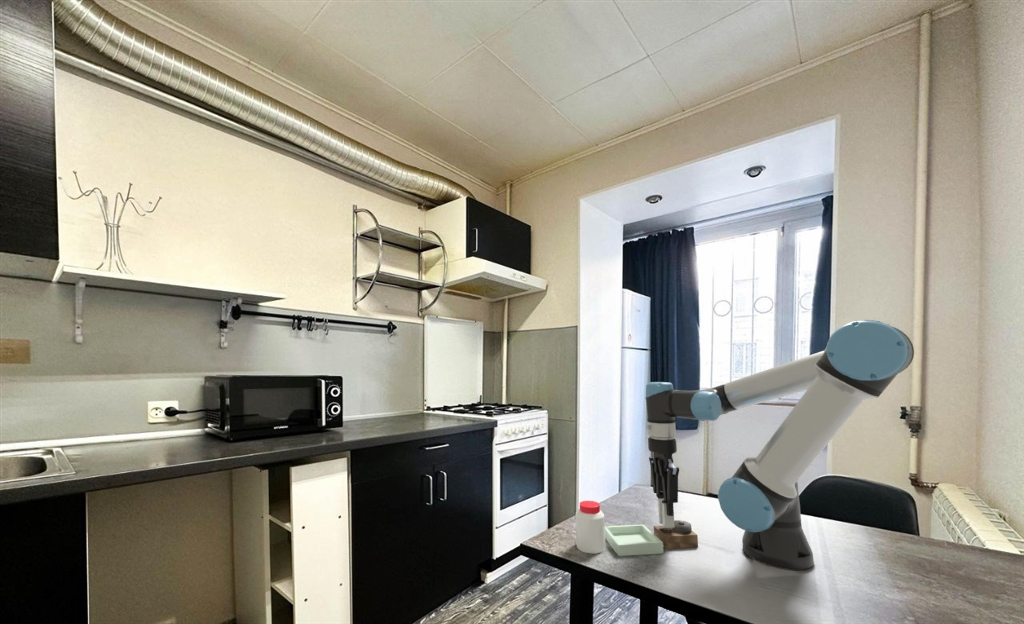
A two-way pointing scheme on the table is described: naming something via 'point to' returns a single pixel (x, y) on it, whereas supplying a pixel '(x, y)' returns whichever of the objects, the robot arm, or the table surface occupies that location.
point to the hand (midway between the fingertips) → (666, 524)
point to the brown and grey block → (677, 535)
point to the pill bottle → (590, 528)
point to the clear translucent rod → (665, 530)
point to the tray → (633, 540)
